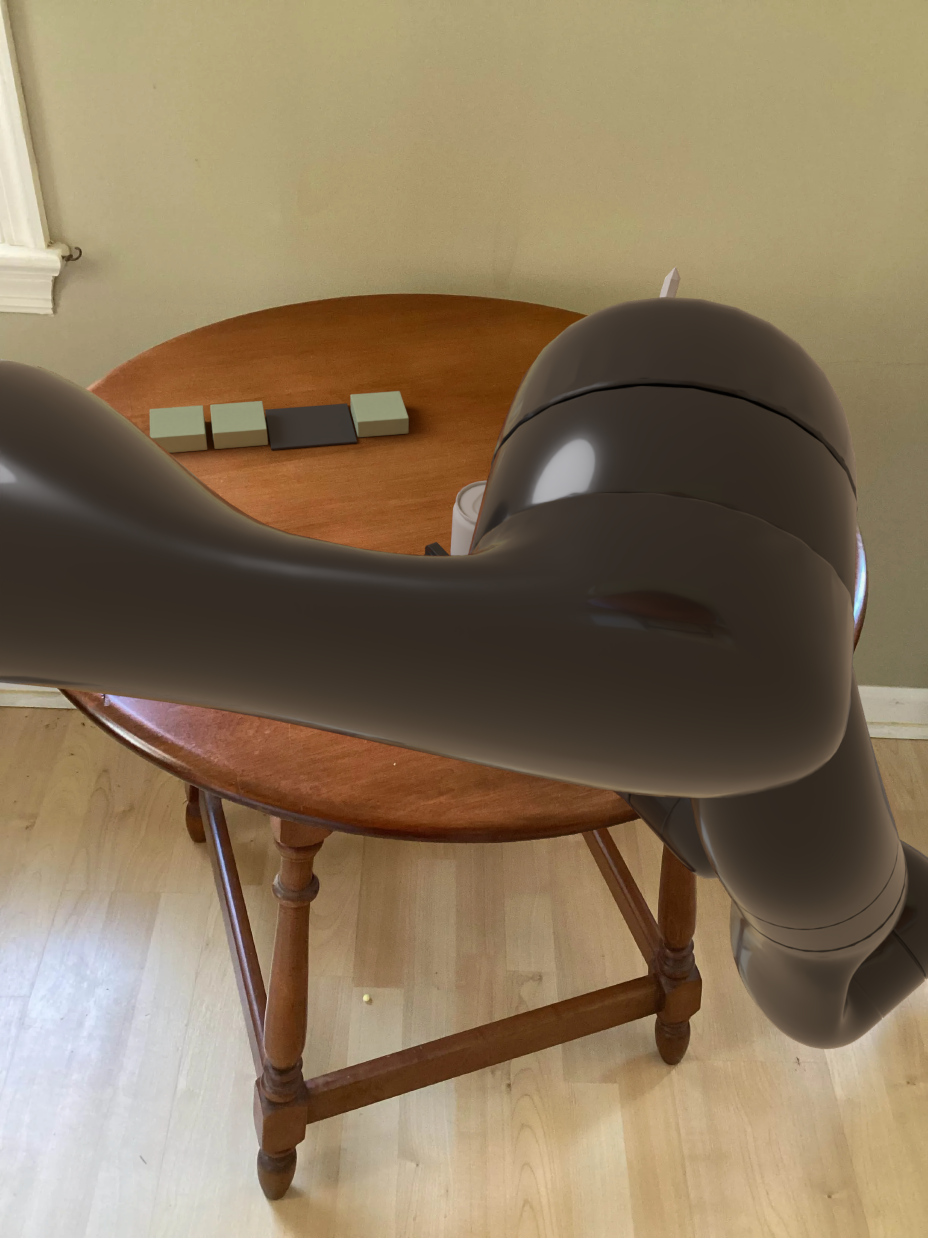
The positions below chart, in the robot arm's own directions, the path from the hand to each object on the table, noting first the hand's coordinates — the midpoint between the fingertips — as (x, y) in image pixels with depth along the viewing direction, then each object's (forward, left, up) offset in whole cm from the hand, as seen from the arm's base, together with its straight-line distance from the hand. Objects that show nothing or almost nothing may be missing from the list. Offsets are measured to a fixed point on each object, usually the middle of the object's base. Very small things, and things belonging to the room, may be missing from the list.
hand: (464, 541), depth 69 cm
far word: (-9, +26, -7) cm, 28 cm away
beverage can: (+1, -2, -7) cm, 8 cm away
